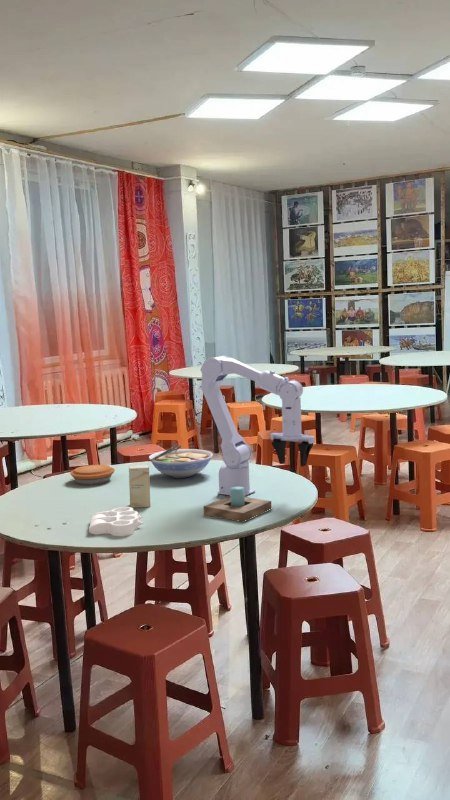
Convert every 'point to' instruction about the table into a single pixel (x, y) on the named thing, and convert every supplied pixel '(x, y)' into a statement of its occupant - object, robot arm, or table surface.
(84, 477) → the pie
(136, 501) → the skincare box
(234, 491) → the peg
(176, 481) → the table surface
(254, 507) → the socket block
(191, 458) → the ramen bowl
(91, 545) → the table surface
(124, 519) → the paw shaped tray
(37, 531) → the table surface
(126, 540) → the table surface
